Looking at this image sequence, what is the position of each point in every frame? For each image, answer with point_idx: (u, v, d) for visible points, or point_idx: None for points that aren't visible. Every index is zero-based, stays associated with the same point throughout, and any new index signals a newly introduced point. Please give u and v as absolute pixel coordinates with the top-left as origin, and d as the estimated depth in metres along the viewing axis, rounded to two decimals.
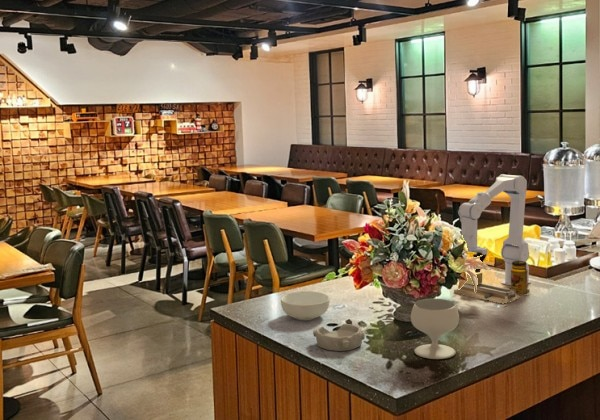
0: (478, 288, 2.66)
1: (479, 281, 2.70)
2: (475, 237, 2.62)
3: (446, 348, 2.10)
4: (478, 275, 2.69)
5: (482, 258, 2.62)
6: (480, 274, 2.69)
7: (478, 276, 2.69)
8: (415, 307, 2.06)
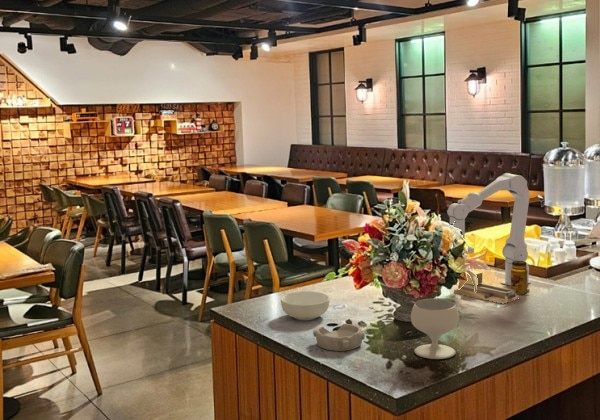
0: (478, 288, 2.66)
1: (479, 281, 2.70)
2: None
3: (446, 348, 2.10)
4: (478, 275, 2.69)
5: None
6: (480, 274, 2.69)
7: (478, 276, 2.69)
8: (415, 307, 2.06)
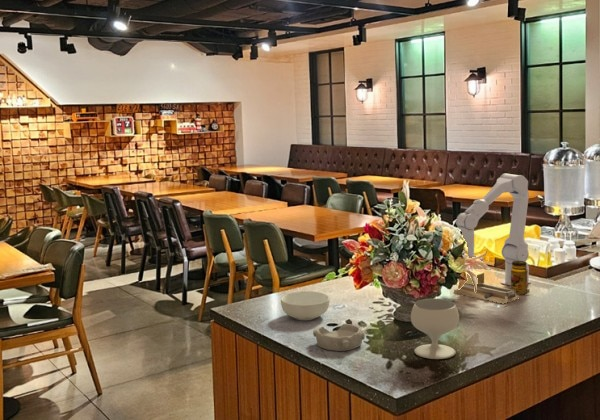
0: (478, 288, 2.66)
1: (481, 281, 2.69)
2: (472, 246, 2.69)
3: (446, 348, 2.10)
4: (480, 275, 2.68)
5: None
6: (482, 274, 2.69)
7: (480, 276, 2.68)
8: (415, 307, 2.06)
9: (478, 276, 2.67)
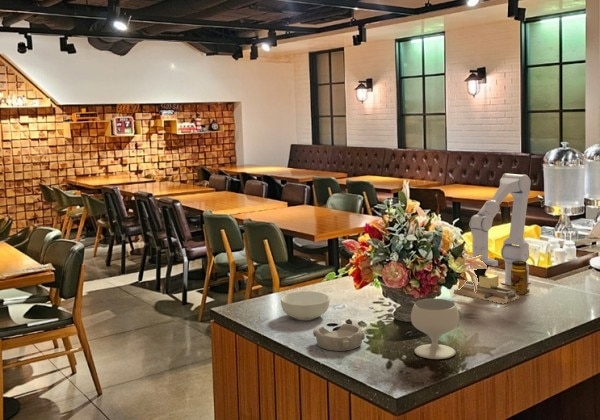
0: (478, 288, 2.66)
1: (495, 284, 2.64)
2: (486, 249, 2.64)
3: (446, 348, 2.10)
4: (494, 278, 2.63)
5: None
6: (496, 277, 2.64)
7: (494, 279, 2.63)
8: (415, 307, 2.06)
9: (492, 279, 2.63)
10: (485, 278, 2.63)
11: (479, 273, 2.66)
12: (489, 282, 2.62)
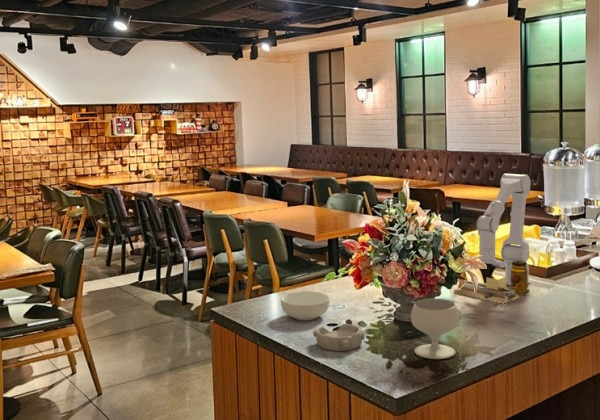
0: (478, 288, 2.66)
1: (502, 286, 2.62)
2: (493, 250, 2.62)
3: (446, 348, 2.10)
4: (502, 280, 2.61)
5: (492, 269, 2.65)
6: (504, 279, 2.62)
7: (502, 281, 2.61)
8: (415, 307, 2.06)
9: (500, 280, 2.60)
10: (492, 279, 2.61)
11: (486, 274, 2.64)
12: (496, 283, 2.60)
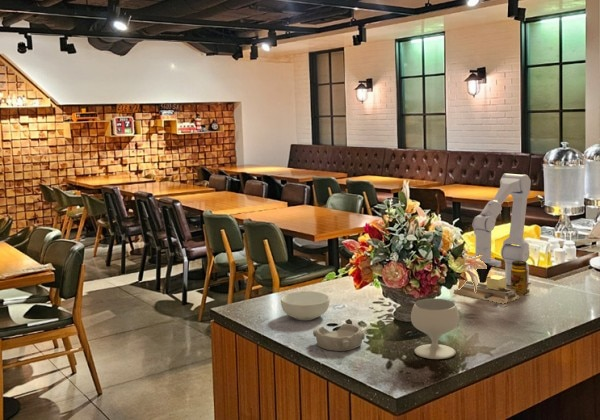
0: (478, 288, 2.66)
1: (503, 286, 2.62)
2: (489, 249, 2.63)
3: (446, 348, 2.10)
4: (502, 280, 2.61)
5: (488, 269, 2.66)
6: (504, 279, 2.62)
7: (502, 281, 2.61)
8: (415, 307, 2.06)
9: (500, 280, 2.60)
10: (493, 280, 2.61)
11: (482, 274, 2.65)
12: (497, 284, 2.60)
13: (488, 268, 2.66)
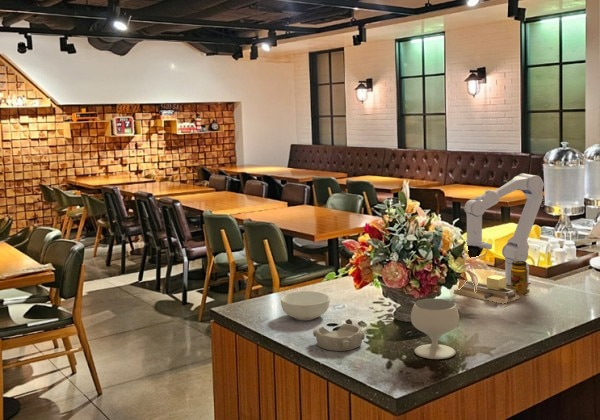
0: (478, 288, 2.66)
1: (503, 286, 2.62)
2: (480, 233, 2.72)
3: (446, 348, 2.10)
4: (502, 280, 2.61)
5: (479, 251, 2.75)
6: (504, 279, 2.62)
7: (502, 281, 2.61)
8: (415, 307, 2.06)
9: (500, 280, 2.60)
10: (493, 280, 2.61)
11: (473, 256, 2.74)
12: (497, 284, 2.60)
13: (479, 251, 2.75)
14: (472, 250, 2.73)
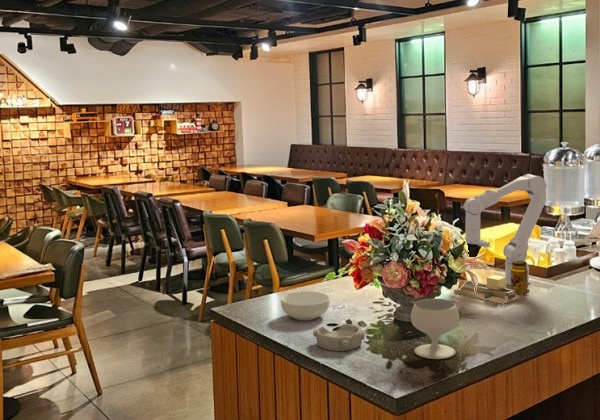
0: (478, 288, 2.66)
1: (503, 286, 2.62)
2: (478, 231, 2.76)
3: (446, 348, 2.10)
4: (502, 280, 2.61)
5: (477, 250, 2.79)
6: (504, 279, 2.62)
7: (502, 281, 2.61)
8: (415, 307, 2.06)
9: (500, 280, 2.60)
10: (493, 280, 2.61)
11: (472, 254, 2.77)
12: (497, 284, 2.60)
13: (477, 249, 2.79)
14: (470, 248, 2.76)
